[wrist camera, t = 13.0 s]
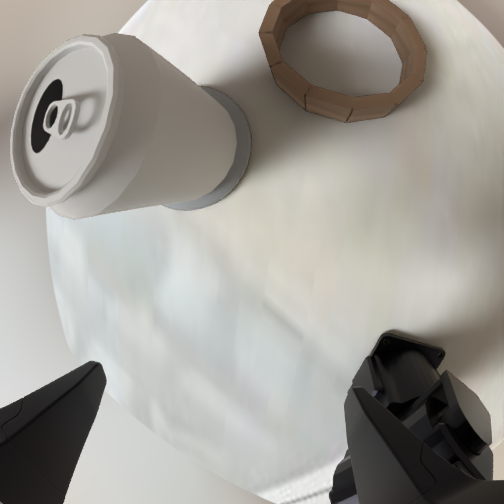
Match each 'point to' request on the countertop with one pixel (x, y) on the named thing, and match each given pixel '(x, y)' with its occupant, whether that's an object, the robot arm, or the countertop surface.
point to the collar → (329, 102)
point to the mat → (239, 159)
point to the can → (116, 130)
